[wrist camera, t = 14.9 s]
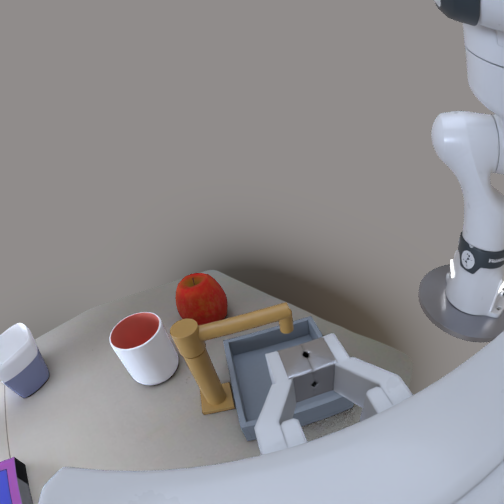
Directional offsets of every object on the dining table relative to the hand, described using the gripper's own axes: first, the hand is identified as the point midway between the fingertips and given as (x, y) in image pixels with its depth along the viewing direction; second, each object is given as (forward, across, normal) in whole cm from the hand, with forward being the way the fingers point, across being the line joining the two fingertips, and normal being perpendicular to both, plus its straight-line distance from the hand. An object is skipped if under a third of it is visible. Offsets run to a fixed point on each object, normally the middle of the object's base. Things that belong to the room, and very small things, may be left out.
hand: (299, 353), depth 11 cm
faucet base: (+19, +9, +28) cm, 35 cm away
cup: (+29, +20, +28) cm, 45 cm away
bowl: (+30, +55, +28) cm, 69 cm away
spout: (+19, +3, +17) cm, 26 cm away
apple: (+41, +9, +28) cm, 51 cm away
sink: (+19, -2, +28) cm, 34 cm away
